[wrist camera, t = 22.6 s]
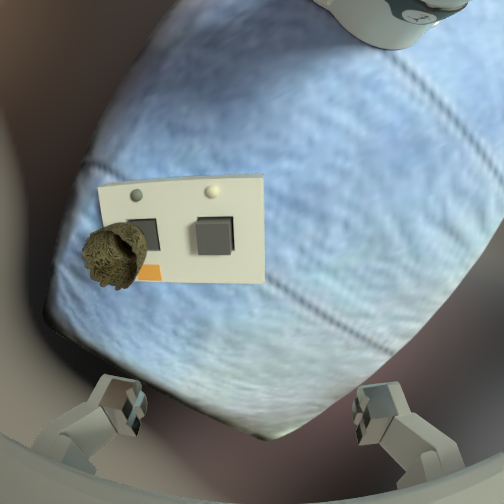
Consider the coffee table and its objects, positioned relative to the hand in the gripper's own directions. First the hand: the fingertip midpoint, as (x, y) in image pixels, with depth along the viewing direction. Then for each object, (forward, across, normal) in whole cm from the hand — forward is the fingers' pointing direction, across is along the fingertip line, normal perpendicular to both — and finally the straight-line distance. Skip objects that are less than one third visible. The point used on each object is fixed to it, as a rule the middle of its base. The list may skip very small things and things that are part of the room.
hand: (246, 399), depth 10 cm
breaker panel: (+31, +11, +4) cm, 33 cm away
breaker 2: (+29, +6, +4) cm, 30 cm away
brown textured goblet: (+28, +17, +4) cm, 33 cm away
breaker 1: (+31, +16, +4) cm, 35 cm away
